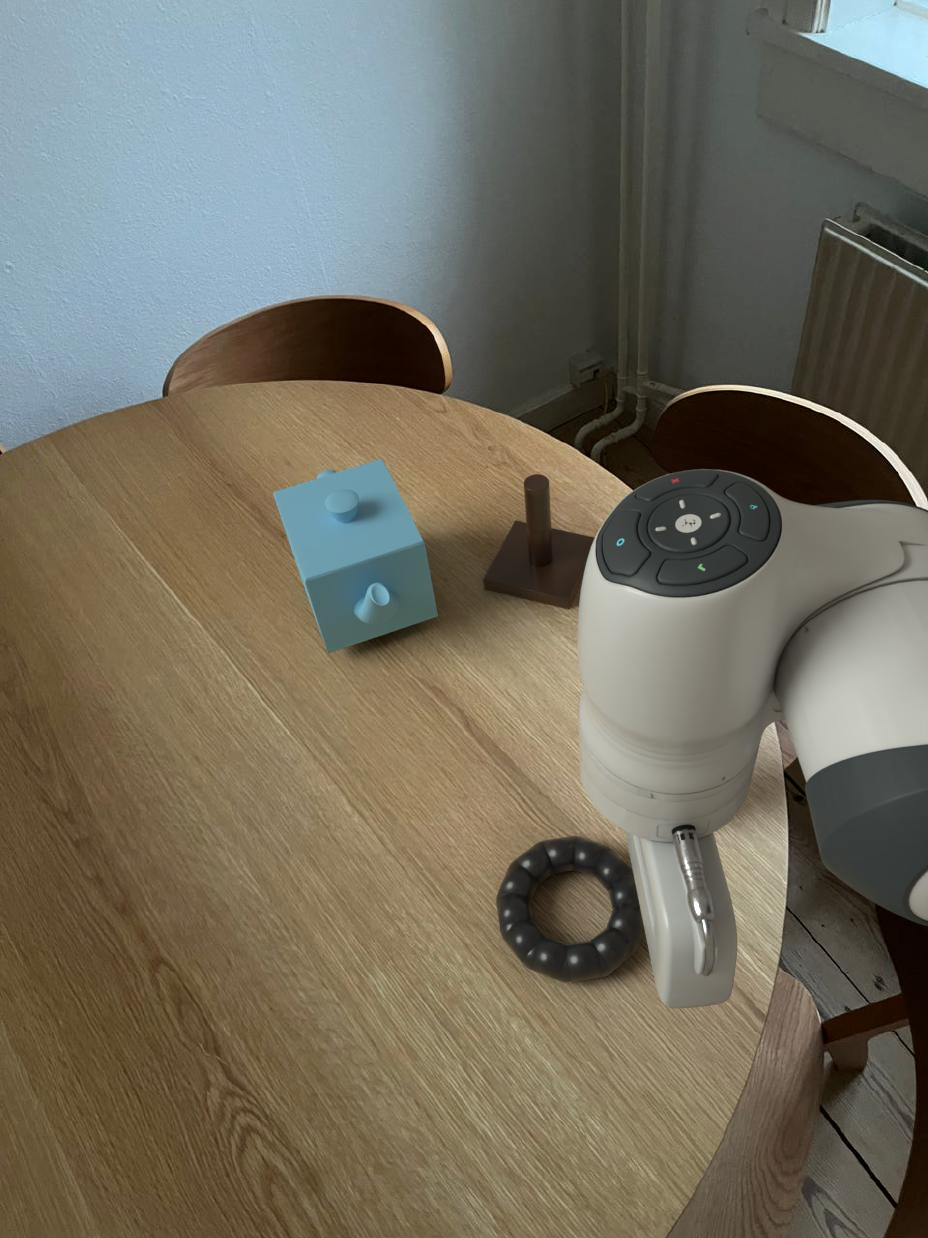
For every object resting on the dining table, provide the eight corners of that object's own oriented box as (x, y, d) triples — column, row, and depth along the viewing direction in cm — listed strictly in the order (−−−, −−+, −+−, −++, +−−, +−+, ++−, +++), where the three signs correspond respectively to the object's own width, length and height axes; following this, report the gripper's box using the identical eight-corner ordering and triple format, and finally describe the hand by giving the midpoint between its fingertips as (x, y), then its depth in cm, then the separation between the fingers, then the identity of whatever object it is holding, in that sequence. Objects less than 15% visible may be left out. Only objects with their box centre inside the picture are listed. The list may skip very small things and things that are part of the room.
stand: (597, 548, 100) (597, 461, 91) (568, 609, 95) (566, 523, 86) (516, 530, 103) (509, 444, 94) (484, 589, 98) (473, 503, 89)
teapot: (294, 559, 103) (261, 458, 93) (392, 528, 105) (371, 425, 95) (348, 712, 89) (316, 612, 79) (461, 672, 91) (444, 570, 80)
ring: (663, 873, 75) (665, 857, 73) (620, 1009, 69) (621, 996, 67) (529, 829, 79) (527, 813, 77) (476, 954, 73) (473, 940, 71)
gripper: (786, 939, 42) (748, 1044, 53) (684, 599, 56) (669, 735, 66) (642, 954, 42) (632, 1055, 53) (575, 612, 56) (578, 745, 66)
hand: (652, 875), depth 60 cm, fingers open, 8 cm apart
